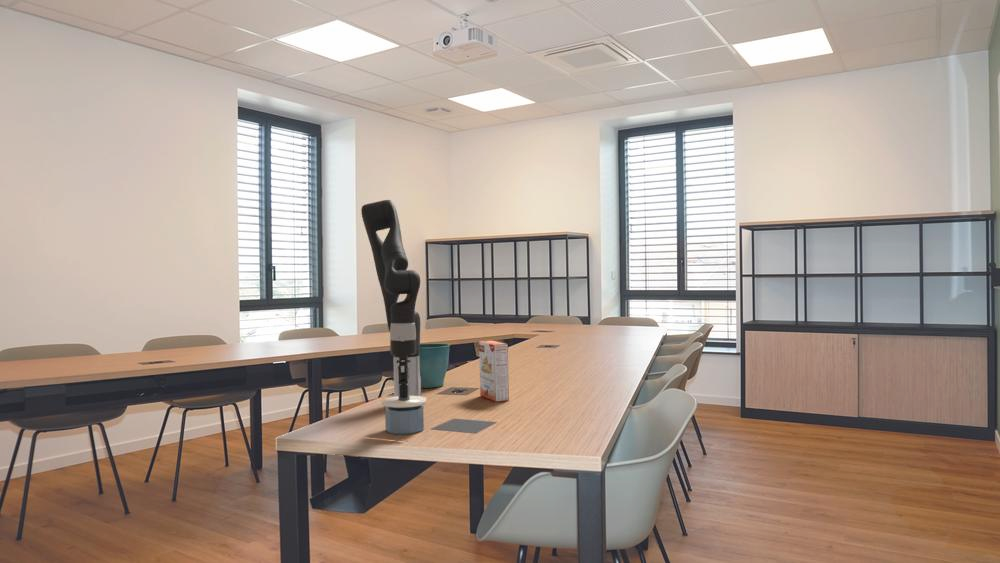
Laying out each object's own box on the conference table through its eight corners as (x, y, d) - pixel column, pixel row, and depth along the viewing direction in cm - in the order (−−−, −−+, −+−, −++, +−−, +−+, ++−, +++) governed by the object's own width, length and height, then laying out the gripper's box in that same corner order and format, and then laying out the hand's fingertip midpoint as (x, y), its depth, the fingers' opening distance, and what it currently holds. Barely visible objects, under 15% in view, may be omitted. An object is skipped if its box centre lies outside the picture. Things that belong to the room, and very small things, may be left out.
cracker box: (479, 396, 243) (478, 340, 243) (493, 394, 246) (492, 340, 246) (494, 402, 231) (493, 344, 230) (509, 401, 233) (508, 343, 233)
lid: (397, 397, 198) (396, 376, 198) (434, 400, 193) (434, 378, 193) (372, 405, 186) (372, 383, 186) (411, 408, 181) (411, 385, 181)
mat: (453, 419, 204) (453, 418, 204) (497, 423, 198) (497, 422, 198) (430, 430, 190) (430, 429, 190) (475, 434, 184) (475, 433, 184)
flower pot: (398, 386, 268) (397, 345, 268) (433, 381, 280) (432, 342, 280) (423, 391, 255) (423, 348, 255) (459, 385, 267) (458, 344, 267)
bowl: (399, 425, 197) (398, 402, 197) (430, 428, 192) (430, 405, 192) (378, 434, 187) (378, 409, 187) (411, 437, 182) (410, 412, 182)
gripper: (391, 336, 196) (392, 393, 196) (388, 340, 182) (389, 401, 182) (416, 335, 197) (417, 392, 197) (415, 340, 183) (416, 400, 183)
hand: (404, 396), depth 189 cm, fingers closed on lid, 3 cm apart
